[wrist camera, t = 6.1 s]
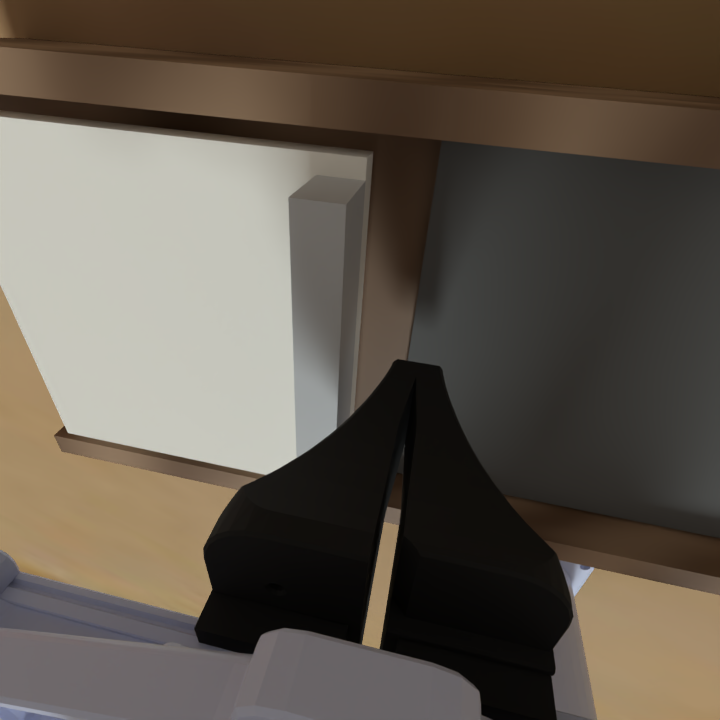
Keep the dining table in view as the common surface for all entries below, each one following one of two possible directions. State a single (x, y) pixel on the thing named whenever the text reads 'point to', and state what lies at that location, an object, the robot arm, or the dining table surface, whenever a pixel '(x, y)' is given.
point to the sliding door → (186, 283)
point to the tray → (384, 205)
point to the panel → (579, 327)
